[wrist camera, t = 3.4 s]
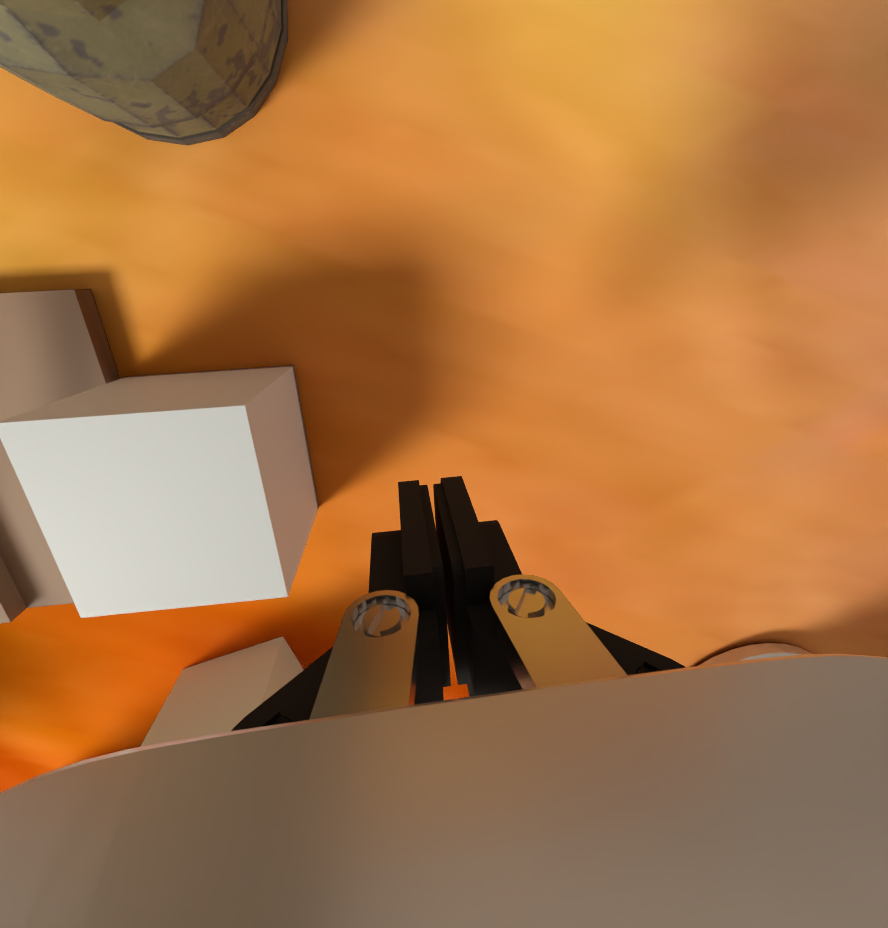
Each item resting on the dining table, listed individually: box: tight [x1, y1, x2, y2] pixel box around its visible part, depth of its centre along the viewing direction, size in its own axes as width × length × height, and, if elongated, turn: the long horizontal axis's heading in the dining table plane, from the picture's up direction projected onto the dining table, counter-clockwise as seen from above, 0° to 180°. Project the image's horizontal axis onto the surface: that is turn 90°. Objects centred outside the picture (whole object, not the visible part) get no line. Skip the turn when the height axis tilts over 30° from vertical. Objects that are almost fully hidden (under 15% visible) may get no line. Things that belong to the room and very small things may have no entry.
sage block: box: [140, 636, 304, 747], centre depth 24 cm, size 6×6×6 cm
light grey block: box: [0, 365, 319, 618], centre depth 18 cm, size 7×7×7 cm
